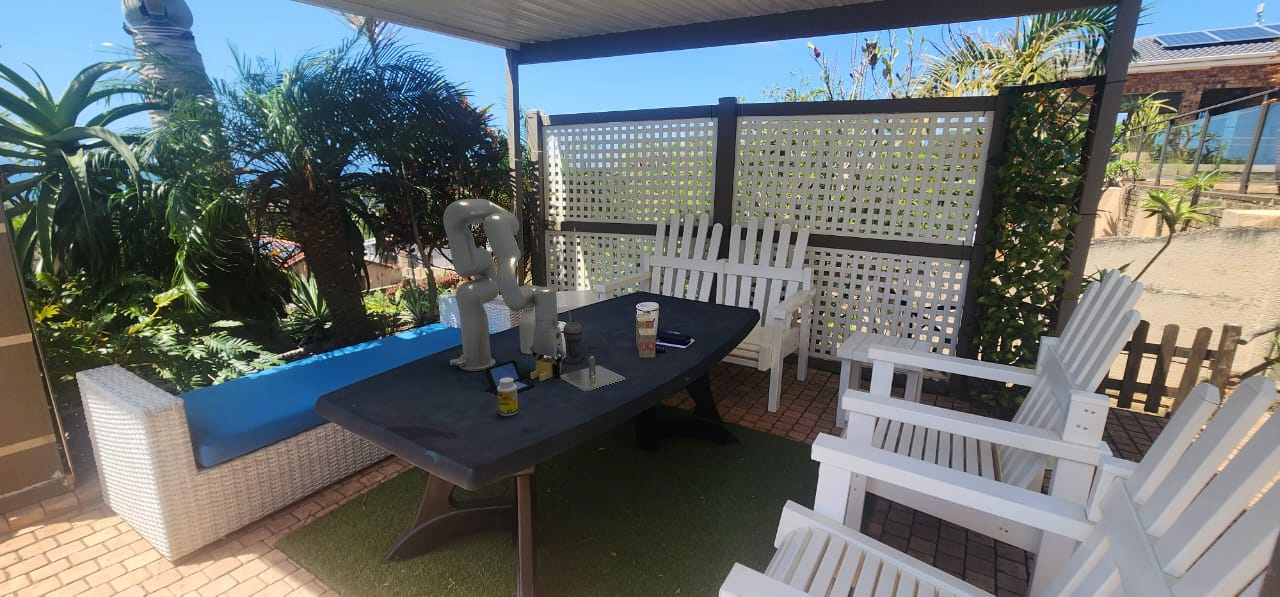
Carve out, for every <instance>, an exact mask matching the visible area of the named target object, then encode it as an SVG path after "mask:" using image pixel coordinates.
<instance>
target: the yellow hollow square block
mask: <svg viewBox="0 0 1280 597" xmlns="http://www.w3.org/2000/svg"><path fill="white" fill-rule="evenodd" d="M555 358H556V357H555ZM556 360H557V358H556ZM553 364H554V363H553V360H552V357H550V356H546V357H545V356H544V357H543V358H542V359H540V360H538V361H536V360H535V370H534V371H531V372H530V373H529V374H530V379H532V380H534V379H536V378H538V380H539V381H540V382H542V381H545V380H547V379H550V378H552V377H555V376H554V375H553V367H552V365H553ZM561 364H562V362H561V363H560V373H559V374H561V373H562V369H561V368H562V367H561V366H562V365H561Z"/></svg>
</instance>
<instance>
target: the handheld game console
mask: <svg viewBox="0 0 1280 597" xmlns="http://www.w3.org/2000/svg"><path fill="white" fill-rule="evenodd" d="M484 374H485V377H486V378H487V382H488V384H489V387H490V388H491V390H490V391H491V393H492V394H496V395H497V387H498V386H499V385H500V379H502V378H507V377H509V378H513V379H514V384H515V385H516V386H517V394H519V393H522V392H525V391H527V390H530V389H533V388H534V387H536V384H535V383H533V382H531V381H528V380H526V379H524V377H522V373H521V371H520V369H519V367H518V364H517V362H516V360H515V359H511V360H509V361H505V362H502V363H500V364H495V365H494V366H492V367H489V368H486V369H485V370H484Z"/></svg>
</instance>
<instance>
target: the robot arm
mask: <svg viewBox="0 0 1280 597" xmlns="http://www.w3.org/2000/svg"><path fill="white" fill-rule="evenodd" d="M442 220H443V221H442V222H443V226H444V230H445V233H446V237H447V240H448V245H449V251H450V255H451V260H452V265H453V269H454V271H455V274H456V275H457V276H459V277H460V278H470V277H473V279H469V280H467V281H465V282H462V283H461V284H460V285H459V286H458V287H457V288H456V291H455V301H456V305H457V307H458V312H459V313H458V314H459V320H460V331H461V344H462V354H460V357H458V358H454V359H450V360H449V364H450V366H454V365H456V366H457V367H458V366H459V369H460V368H461V369H460V370H462V369H463V370H462V371H465V370H467V371H466V372H481V371H485V369H486V368H489V367H492V366H495V365H496V360H495V359H494V358H492V356H491V342H490V328H489V318H488V313H487V311H486V309H485V307H484V305H485V304H489V303H490V302H492V301H494V300H495V299H497V297H498V296H499V294H500V295H501V298H502V299H503V301H504V303H505V305H506V307H508V308H509V309H510V310H511V311H513V312H520V311H523V309H526V308H528V307H531V306H534V311H535V328H534V336H533V345H532V346H531V347H530V350H531V352H532V353H533V354H532V355H533V357H534V360H535V362H536V361H538V360H540V359H543V358H544V357H545V356H546V357H552V360H553V363H554V364H553V365H552V367H553V375H554V376H553V377H555V376H557V375H559V374H561V373H560V363H561V364H562V362H563V360H564V359H565V358H567V352H565V351H564V343H563V336H562V331H561V327H560V326H559V325H560V321H558V305H557V304H558V302H557V301H558V300H557V298H558V297H557V289H556V288H555V287H553V286H539V285H534V284H525V285H522V286H520V285H519V282H518V280H517V277H516V268H517V265H518V262H519V260H520V258H521V256H522V252H521V250H520V248H519V245H518V244H517V243H518V242H517V241H516V239H515V235H516V234H517V233H518V232H519V230H520V222H519V219H518V218H517V216H516V215H514V213H513V212H510V211H509V210H507V209H505V208H503V207H502V206H500V205H498V204H496V203H494V202H492V201H491V200H488V199H486V198H485V199H484V198H464V199H459V200H455V201H453V202H451V203H450V204H448V206H447V207H446V208H445V210H444V213H443V219H442ZM481 223H482V228H483V232H484V233H485V237H486V238H487V241H488V243H489V245H490V248H491V251H492V253H493V255H492V254H491V252H489V250H487V249H485V248H483V247H476V244H475V239H474V235H473V233H472V231H471V229H470V228H469V227H468V226H469V225H474V224H481ZM493 256H494V257H495V260H494V257H493ZM495 261H496V262H497V267H496V264H495ZM556 358H557V360H556ZM480 370H481V371H480Z"/></svg>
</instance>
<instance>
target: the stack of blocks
mask: <svg viewBox="0 0 1280 597" xmlns="http://www.w3.org/2000/svg"><path fill="white" fill-rule="evenodd" d="M635 330H636V331H635V332H636V333H635V334H636V335H635V339H636V347H637V350H638V355H639V358H656V348H657V347H656V346H657V345H656V343H657V334H656V331H655V328H654V319H653V316H652V314H651V313H635Z"/></svg>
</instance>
